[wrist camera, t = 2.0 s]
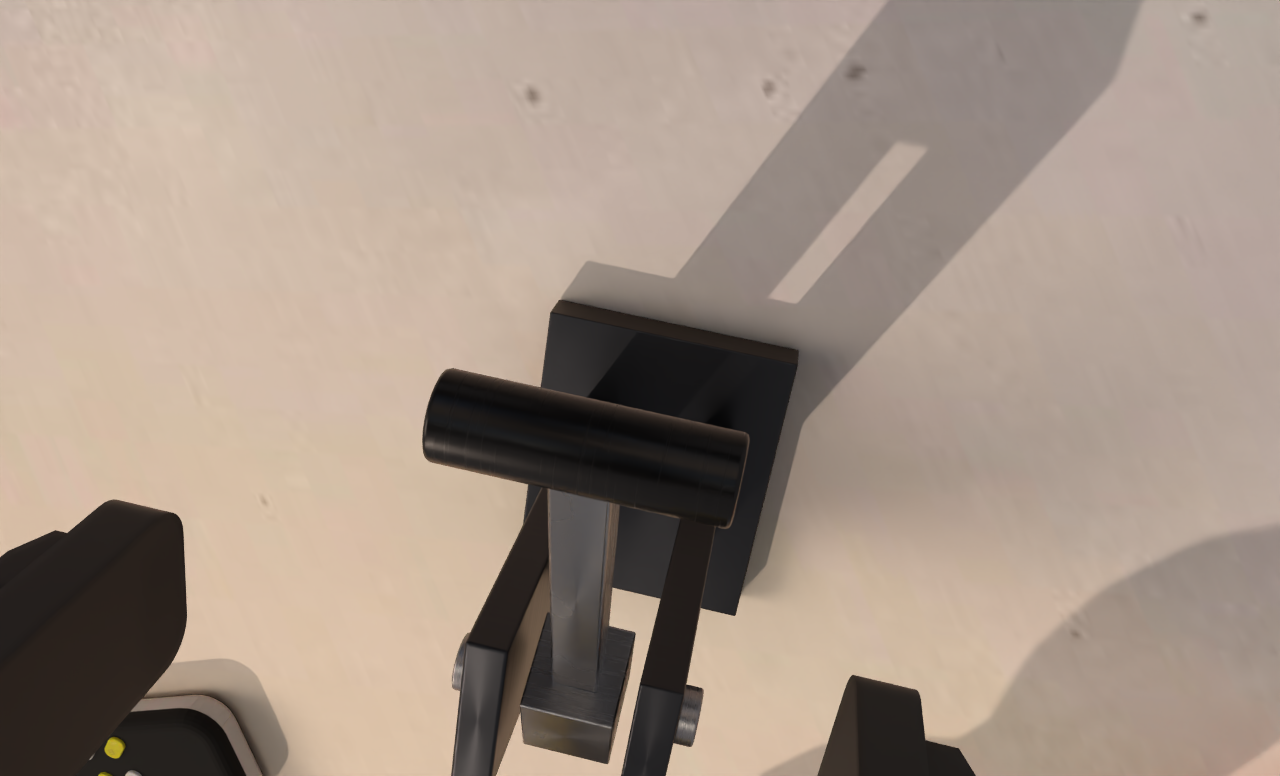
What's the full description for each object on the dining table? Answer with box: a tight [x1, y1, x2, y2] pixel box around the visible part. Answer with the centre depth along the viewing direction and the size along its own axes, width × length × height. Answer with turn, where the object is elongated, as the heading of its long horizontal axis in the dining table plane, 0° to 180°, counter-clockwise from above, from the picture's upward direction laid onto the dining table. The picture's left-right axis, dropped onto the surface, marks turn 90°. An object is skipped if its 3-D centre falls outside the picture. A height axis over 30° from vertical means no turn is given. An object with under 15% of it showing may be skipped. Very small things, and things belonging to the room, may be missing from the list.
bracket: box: [451, 300, 799, 776], centre depth 30 cm, size 10×8×14 cm
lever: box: [422, 368, 750, 764], centre depth 22 cm, size 13×5×2 cm, turn 171°
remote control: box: [76, 695, 262, 776], centre depth 46 cm, size 6×13×2 cm, turn 103°
